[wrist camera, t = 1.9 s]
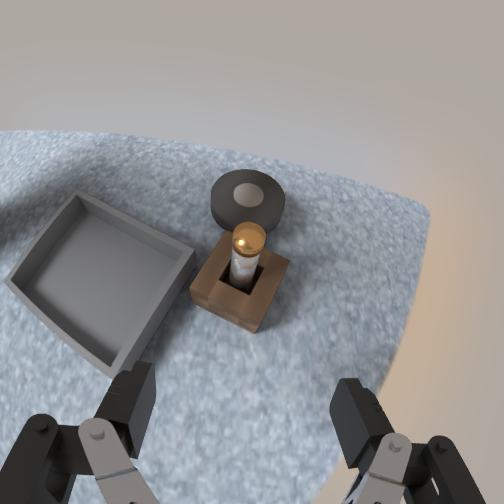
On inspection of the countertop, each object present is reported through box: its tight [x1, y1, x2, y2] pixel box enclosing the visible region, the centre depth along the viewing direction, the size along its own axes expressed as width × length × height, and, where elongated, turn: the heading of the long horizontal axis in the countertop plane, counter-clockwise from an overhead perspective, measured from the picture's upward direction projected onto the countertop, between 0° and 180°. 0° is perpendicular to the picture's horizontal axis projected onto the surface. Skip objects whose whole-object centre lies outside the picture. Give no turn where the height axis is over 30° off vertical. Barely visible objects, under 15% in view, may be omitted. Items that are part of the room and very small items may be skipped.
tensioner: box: [189, 169, 290, 334], centre depth 31 cm, size 11×16×5 cm
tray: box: [4, 188, 197, 380], centre depth 27 cm, size 18×15×4 cm
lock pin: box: [228, 222, 266, 294], centre depth 26 cm, size 2×2×10 cm
